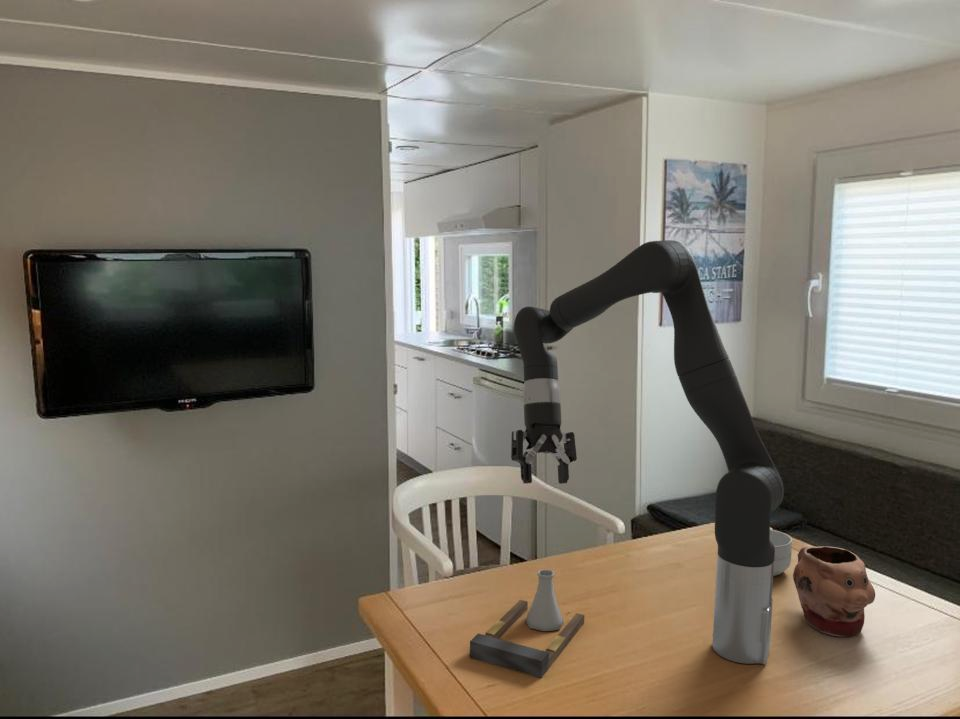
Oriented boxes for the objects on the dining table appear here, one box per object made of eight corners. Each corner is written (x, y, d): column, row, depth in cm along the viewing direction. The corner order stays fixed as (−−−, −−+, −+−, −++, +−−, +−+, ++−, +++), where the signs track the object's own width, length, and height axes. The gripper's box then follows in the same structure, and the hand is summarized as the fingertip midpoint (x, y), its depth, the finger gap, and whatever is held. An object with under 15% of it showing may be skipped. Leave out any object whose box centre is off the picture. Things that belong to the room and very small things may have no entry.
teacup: (782, 585, 156) (784, 549, 155) (730, 572, 163) (733, 537, 162) (799, 564, 167) (802, 530, 166) (750, 552, 174) (752, 519, 173)
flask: (563, 615, 142) (565, 565, 141) (564, 633, 135) (565, 581, 134) (525, 613, 143) (527, 563, 141) (524, 631, 136) (525, 579, 134)
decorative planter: (765, 601, 149) (770, 535, 147) (817, 595, 152) (822, 530, 150) (835, 652, 130) (841, 576, 128) (893, 644, 132) (900, 570, 131)
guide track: (584, 623, 139) (584, 607, 139) (541, 678, 120) (541, 660, 120) (519, 607, 145) (520, 592, 144) (469, 657, 126) (470, 641, 126)
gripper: (522, 398, 145) (525, 482, 141) (581, 402, 151) (585, 482, 148) (502, 404, 151) (505, 484, 148) (560, 407, 158) (563, 484, 154)
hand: (545, 483), depth 148 cm, fingers open, 8 cm apart
